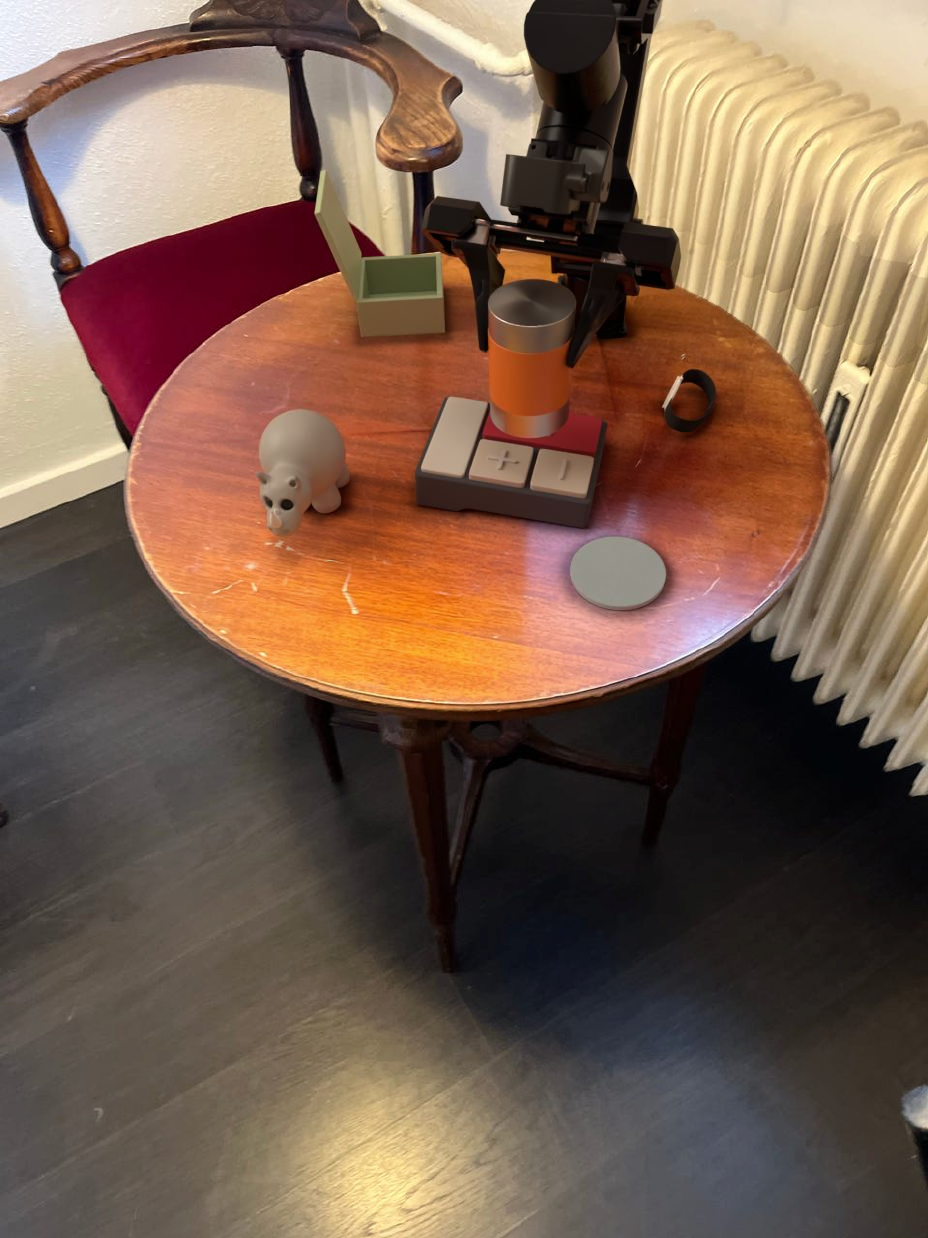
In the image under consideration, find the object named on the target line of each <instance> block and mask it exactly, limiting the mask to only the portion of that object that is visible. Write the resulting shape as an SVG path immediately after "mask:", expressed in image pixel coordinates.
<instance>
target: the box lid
mask: <svg viewBox="0 0 928 1238" xmlns="http://www.w3.org/2000/svg"><path fill="white" fill-rule="evenodd" d="M314 216H315V218H316V220H317V222H318V226H319V227H320V229H321V231H322V234H323V236H324V238H325V240H326V242H327V245H328V247H329V249H330V252H331V253H332V257H333V258H334V261H335V264H336V265H337V267H338V270H339V271H340V274H341V276H342V278H343V280H344V283H345V285H346V287H347V290H348V291H349V294H350V297H351V298H352V300H357V298H358V294H359V281H360V267H361V258H362V251H361V248H360V246H359V244H358V242H357V240H356V237H355V234H354V232H353V229H352V228H351V225H350V223H349V220H348V218H347V216H346V213H345V210H344V208H343V206H342V203H341V201H340V199H339V196H338V194H337V192H336V189H335V188H334V185H333V182H332V180H331V178H330V175H329V173H328V170H327V169H323V170H320V173H319V181H318V187H317V195H316V201H315V208H314Z"/></svg>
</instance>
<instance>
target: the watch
mask: <svg viewBox="0 0 928 1238" xmlns="http://www.w3.org/2000/svg"><path fill="white" fill-rule="evenodd" d="M686 383H690V384H693V385H696V386H697V387H698V388H700V389H701V390H702V391H703V392H704V394H705V395H706V397H707V403H708V404H707V405H708V406H707V408H706V409H705V412H704V414H703V415H702V416H701V417H699V418H697V419H686V418H682V417H680V416H678V415H677V414H676V413H675V411H673V408H672V401H673V400H674V398H675V396H676V394H677V392H678V390H679V388H680V387H681V385H682V384H686ZM716 397H717V387H716V385H715V382H714V380H713V379H712V377H710V375H709V374H708V373H706V372H705V371H703V370H701V369H699V368H690V369H689V368H688V369H687V370H685V371H684V372H683V373H682V375H677V377H676V378H675V380H674V382H673V384H672V386H671V388H670V390H669V392H668V394H667V396H666V398H665V400H664V403H663V404H662V406H661V407H662V409H664V410H663V411H664V413H663V415H664V421H665V423H666V425H667V426H668V427H669V428H670V429H672V430H673V431H676V432H679V433H692V432H694V431H696V430H697V429H699V428H700V427H701V426H702V425H703V424H704V423H706V422H707V420H708V418H709V417H710V415H711V413H712V411H713V409H714V407H715V405H716V403H717V402H715V401H716Z"/></svg>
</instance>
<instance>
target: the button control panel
mask: <svg viewBox="0 0 928 1238" xmlns="http://www.w3.org/2000/svg"><path fill="white" fill-rule="evenodd" d="M430 430H431V431H430V433H429V436H428V438H427V441H426V443H425V446H424V448H423V451H422V453H421V455H420V458H419V460H418V463H417V466H416V469H415V471H414V484H415V486H414V487H415V501H416V502H415V503H416V504H417V505H419V506H423V507H430V508H436V509H442V510H448V511H454V512H458V511H461V510H466V509H470V510H476V511H483V512H488V513H493V514H500V515H505V516H510V517H511V516H512V517H516V518H522V519H529V520H534V521H540V522H546V523H552V524H558V525H563V526H568V527H569V526H570V527H575V528H582V529H584V528H587V526H588V525H589V521H590V516H591V511H592V507H593V501H594V497H595V492H596V486H597V482H598V478H599V477H598V476H599V473H600V469H601V463H602V458H603V453H604V448H605V444H606V443H605V442H606V437H607V431H608V422H607V421H606V420H603V419H602V417H597V416H596V417H595V416H590V415H584V414H578V413H577V414H576V413H571V412H569V417H568V420H567V422H566V423H565V425H564V426H563V427H562V428H561V429H559V430H558V431H556V432H555V433H553V434H550V435H547V436H544V437H539V438H521V437H515V436H512V435H509V434H507V433H504V432H503V431H501V430H500V429H498V428H497V427H496V426H495V424H494V423H493V421H492V419H491V415H490V402H488V401H483V400H476V399H470V398H464V397H458V396H457V397H456V396H446V397H444V398H443V400H442V403H441V406H440V408H439V411H438V413H437V416H436V418H435V421H434V423H433V425H432V428H431V429H430Z"/></svg>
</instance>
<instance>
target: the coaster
mask: <svg viewBox="0 0 928 1238" xmlns="http://www.w3.org/2000/svg"><path fill="white" fill-rule="evenodd" d="M569 575H570V580H571V583H572V585H573V587H574V589H575V591H577V593H578V595H580V597H582V598H583V599H585V600H586V601H587V602H589V603H591V604H593V605H595V606H597V607H599V608H602V609H606V610H612V611H613V610H614V611H631V610H636V609H639V608H642V607H645V606H647V605H649V604H650V603H652V602H654V600H656V599H657V598H658V597H659V596H660V595H661V593H662V592H663V590H664V588H665V586H666V585H665V584H666V581H667V568H666V566H665V563H664V561H663V558H662V557H661V556H660V555H659V554H658V553H657V551H656V550H655V549H653V548H652V547H651V546H649V545H648V544H646V543H644V542H642V541H640V540H637V539H634V538H631V537H625V536H604V537H600V538H595V539H593V540H591V541H589V542H587V543H586V544H584V545H582V546H581V547H580V548H578V550H577V551H576V552H575V554H574V555H573V557H572V559H571V562H570V568H569Z"/></svg>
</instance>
